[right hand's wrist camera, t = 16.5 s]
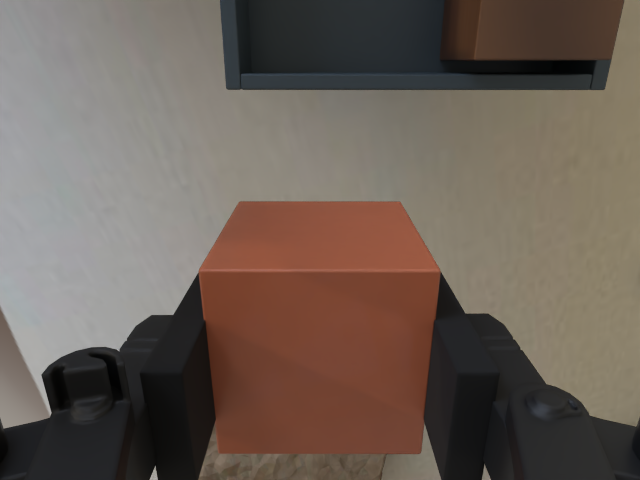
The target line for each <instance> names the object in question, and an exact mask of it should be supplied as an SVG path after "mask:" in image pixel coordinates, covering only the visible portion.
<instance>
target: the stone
mask: <svg viewBox="0 0 640 480" xmlns="http://www.w3.org/2000/svg"><path fill="white" fill-rule="evenodd" d="M385 458H386V454H219V453H218V448H217V439H216V430H215V424H214V428H213V431H212V435H211V438H210V441H209V445H208V448H207V452H206V455H205V458H204V462H203V465H202V469H201V472H200V475H199V479H198V480H381V478H382V469H383V466H384V463H385Z"/></svg>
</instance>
